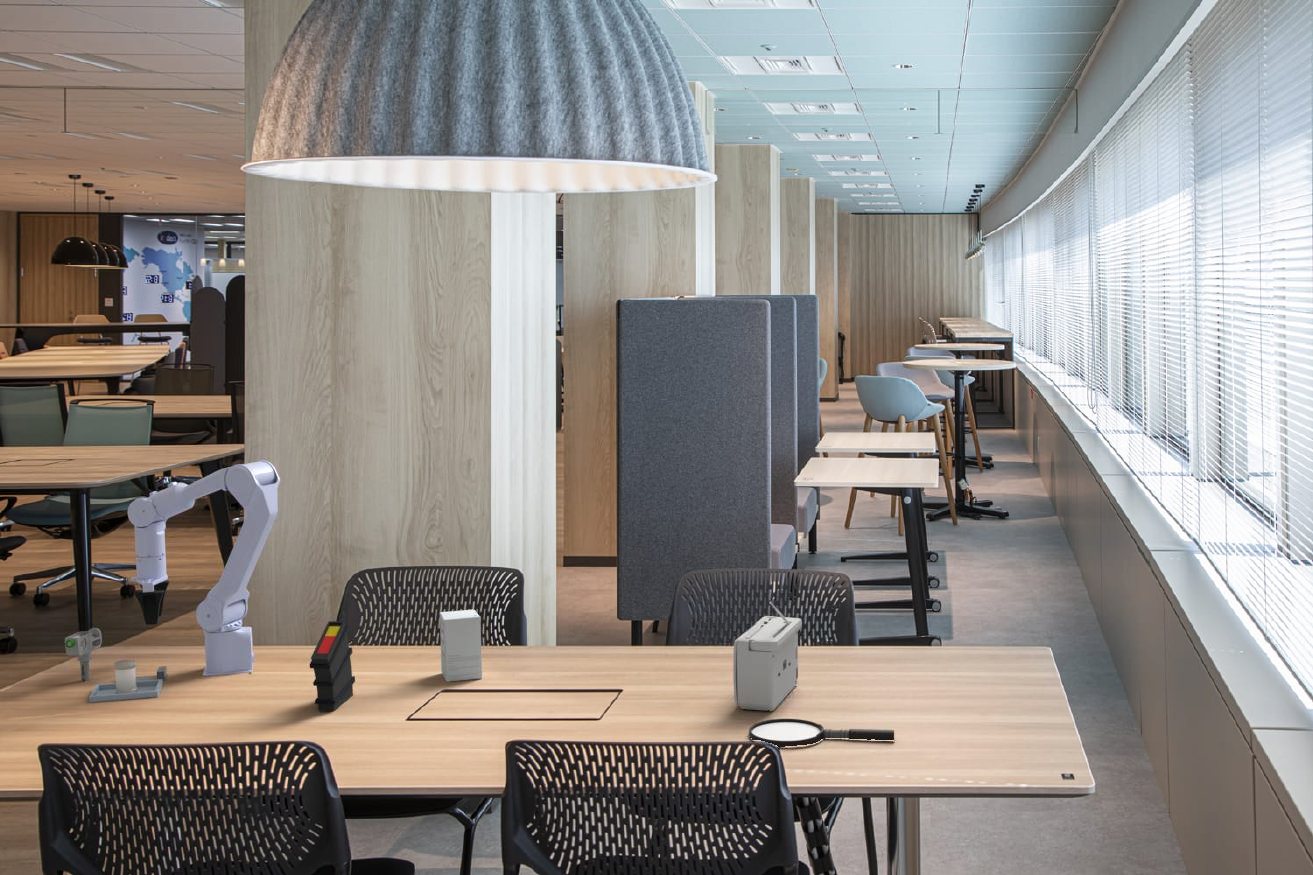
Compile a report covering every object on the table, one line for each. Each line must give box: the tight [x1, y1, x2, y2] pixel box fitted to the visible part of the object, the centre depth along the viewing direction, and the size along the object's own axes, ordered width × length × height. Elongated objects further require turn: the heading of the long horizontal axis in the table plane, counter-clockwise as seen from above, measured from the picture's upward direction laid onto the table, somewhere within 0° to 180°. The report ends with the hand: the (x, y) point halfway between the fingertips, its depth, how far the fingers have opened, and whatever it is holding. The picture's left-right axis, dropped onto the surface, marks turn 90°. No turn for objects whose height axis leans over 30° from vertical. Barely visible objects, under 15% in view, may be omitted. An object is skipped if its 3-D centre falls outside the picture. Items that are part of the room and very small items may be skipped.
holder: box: [136, 665, 169, 682], centre depth 255 cm, size 8×5×2 cm, turn 105°
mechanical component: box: [64, 627, 103, 682], centre depth 255 cm, size 3×10×10 cm, turn 174°
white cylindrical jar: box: [114, 659, 137, 694], centre depth 245 cm, size 4×4×6 cm
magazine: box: [309, 620, 356, 712], centre depth 237 cm, size 4×13×15 cm, turn 174°
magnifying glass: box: [748, 718, 895, 749], centre depth 213 cm, size 12×24×2 cm, turn 80°
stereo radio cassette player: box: [732, 601, 803, 712], centre depth 237 cm, size 21×8×20 cm, turn 160°
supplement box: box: [439, 609, 483, 683], centre depth 255 cm, size 7×7×13 cm
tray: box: [88, 679, 164, 704], centre depth 245 cm, size 12×9×2 cm
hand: (153, 620), depth 265 cm, fingers open, 7 cm apart
